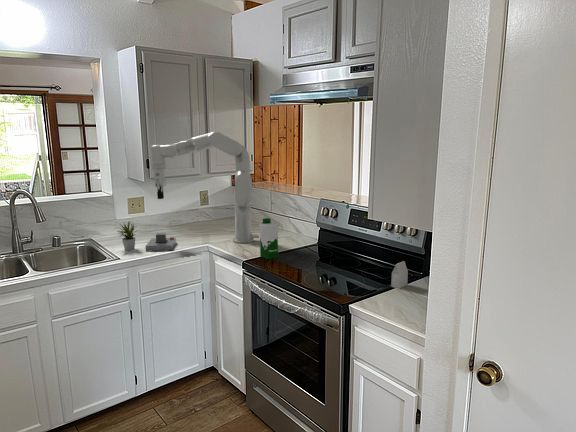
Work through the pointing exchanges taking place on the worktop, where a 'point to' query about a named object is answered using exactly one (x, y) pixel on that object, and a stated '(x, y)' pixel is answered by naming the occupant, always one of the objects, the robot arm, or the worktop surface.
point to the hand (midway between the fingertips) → (160, 198)
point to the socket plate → (161, 245)
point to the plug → (161, 238)
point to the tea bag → (399, 275)
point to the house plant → (128, 236)
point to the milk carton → (268, 239)
